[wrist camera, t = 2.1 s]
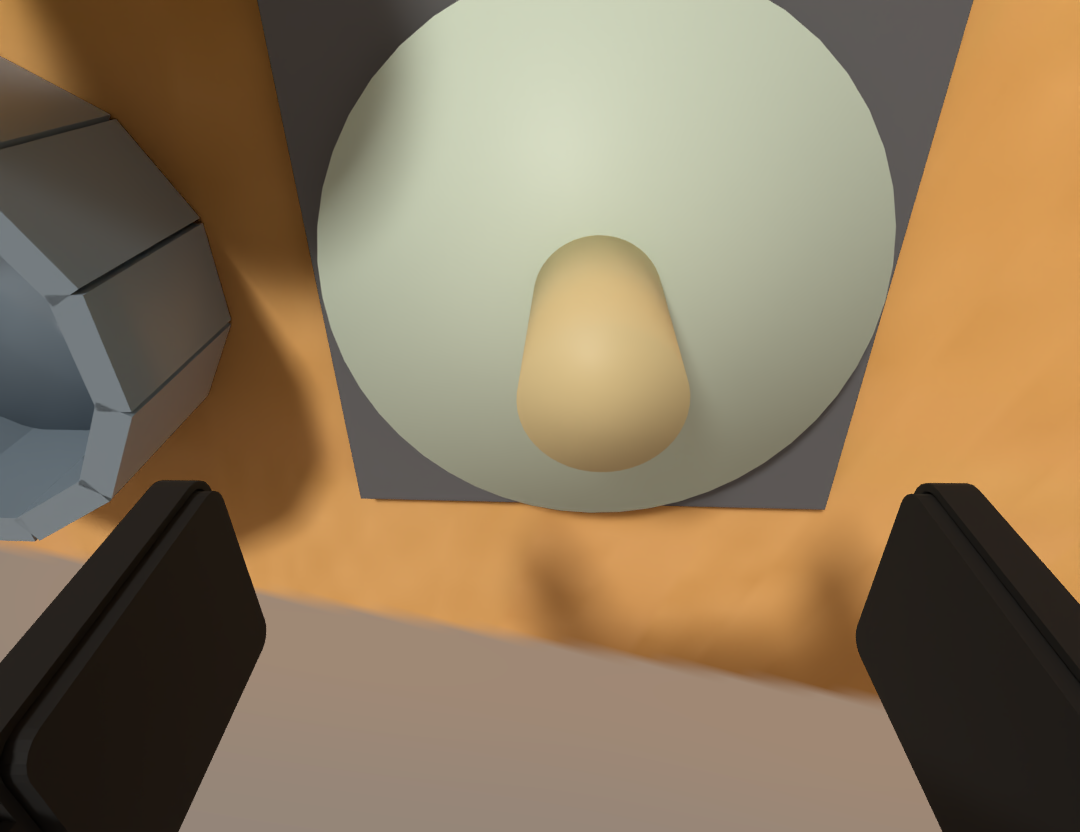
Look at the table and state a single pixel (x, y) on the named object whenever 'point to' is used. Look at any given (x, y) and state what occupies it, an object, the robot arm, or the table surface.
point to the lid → (606, 243)
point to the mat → (408, 3)
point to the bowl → (91, 307)
